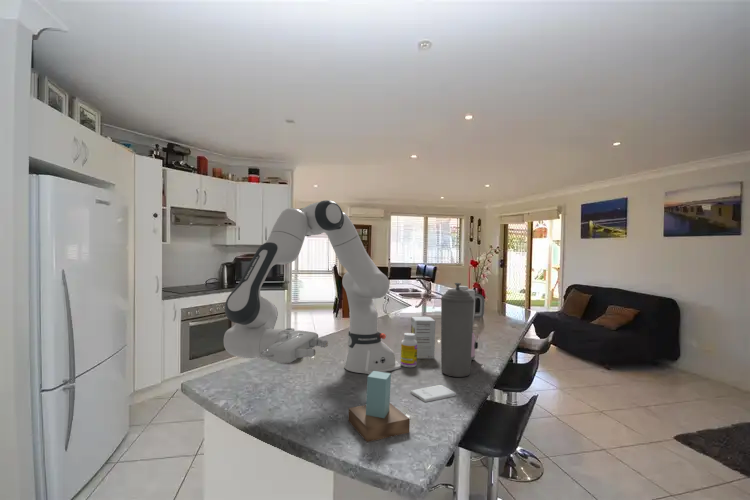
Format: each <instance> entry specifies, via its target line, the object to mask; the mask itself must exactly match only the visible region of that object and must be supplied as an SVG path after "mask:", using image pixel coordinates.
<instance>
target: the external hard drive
mask: <svg viewBox="0 0 750 500" xmlns="http://www.w3.org/2000/svg"><path fill="white" fill-rule="evenodd" d="M409 393H410V394H412V395H413V396H415V397H417V398H418V399H419V400H421V401H423V402H424V403H427V402H431V401H436V400H437V401H438V400H442V399H446V398H451V397H455V396H457V393H456V391H454V390H451V389H450V388H448V387H446V386H445V385H442V384H438V385H433V386H427V387H421V388H417V389H412V390H410V391H409Z"/></svg>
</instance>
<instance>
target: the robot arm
mask: <svg viewBox="0 0 750 500" xmlns="http://www.w3.org/2000/svg"><path fill="white" fill-rule="evenodd" d="M322 234H326V236H327V237H328V240H329V242H330V244H331V247H332V249H333V250H334V251H333V252H334V253H335V256H336V257H337V259H338V261H339V264H340V265H341V266H342V267H343V268H344V269H345V270H346V272H345V273H344V275H343V277H342V283H341V284H342V287H343V289H344V291H345V293H346V297H347V302H348V309H349V331H348V334H347V335H348V336H347V346H348V349H347V356H346V360H345V364H344V369H345V370H347V371H349V372H353V373H359V374H365V375H370V374H371V373H372V372H373V371H378V372H385V373H388V372H390V371H395V370H399V369H401V368H402V365H401V362H399V361H397V360H396V355H395V352H394V350H393V349H391V347H389V346H388V345H387V344H386V343H385V342H383V341H382V339H383V340H385V339H386V337H387V335H386V334H385V333H381V332H379V331H378V323H379V322H378V320H379V318H378V315H379V314H378V311H377V309H376V306H375V304H374V301H373V300H375V299H381V298H383V297H385V296H387V294H388V292H389V290H390V281H389V277H388V276H387V275H386V274H385V273H383V272H382V271H381V270H380V268H378V266H377V264H375V262H374V261H373V260H372V258H371V256H370V255H369V253H368V252H367V250H366V248H365V247H364V244H363V242H362V240H361V238H360V235H359V233H358V231H357V229H356V227H355V225H354V223H353V221H352V220H351V218H350V217H349V216H348V215H347V213H345V212H344V211H343V210H342V208H341V206H340V205H339V204H338V203H337V202H336V201H334V200H330V199H329V200H327V199H326V200H321V201H319V202H313V203H310V204H309V205H307V206H305V207H302V208H299V209H298V208H294V207H290V208H289V207H288V208H285V209H284V210H282V212H281V213H280V215H279V216H278V217H277V219H276V221H275V223H274V225H273V227H272V229H271V231H270V234H269V237H268V238H267V240H266V241H265V242H264V243H263V244H261V245H260V246H259V247H258V249H257V250H256V251H255V253H254V255H253V257H252V258H251V261H250V262H249V264H248V266H247V268H246V269H245V271H244V273H243V275H242V277H241V279H240V280H239V282H238V284H237V285H236V286H235V288H234V289H233V290H232V291H231V293H230V294H229V295H228V296H227V298H226V301H225V304H224V312H225V313H224V314H225V316H226V317H227V319H228V320H229V321H230V322H232V323H234V325H232V326H231V327H230V328H228V329H227V330H225V332H224V336H223V346H224V349H225V351H226V352H227V353H228V354H229V355H231V356H234V357H237V358H243V359H256V358H257V359H260V360H263V361H264V360H266V361H269V362H272V363H273V362H274V363H280V364H290V363H292V362H293V361H295V360H297V359H298V358H299V359H301V358H306V357H307V358H308V357H309V358H313V357H315V355H316V349H315V347H320V348H323V349H324V348H327V347H328V345H329V341H328V340H326V339H324V340H323V339H321V338H320V337H319V334H318V333H316V332H313V331H306V330H296V329H295V328H293V327H288V328H287V327H286V328H282V329H281V328H275V326H276V323H277V320H278V309H277V307H276V306H275V304H274V303H272V302H271V301H269V300H268V299H266V298H264V297H263V296H261V289H262V286H263V285H264V282H265V281H266V278H267V276H268V274H269V273H270V271H271V269H272V267H274V266H275V265H282V266H283V265H284V266H285V265H288V264H292V263H293V262H294V261H296V260H297V258H298V256H299V255H300V253H301V250H302V247H303V244H304V241H305V237H311V236H316V235H317V236H318V235H322Z"/></svg>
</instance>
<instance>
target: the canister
mask: <svg viewBox="0 0 750 500" xmlns="http://www.w3.org/2000/svg"><path fill="white" fill-rule="evenodd" d="M454 285H455V288H456V289H452V288H449V289H450V290H448V289H447V291H446V292H445V293H444V294H443V295H442V296H441V299H440V301H441V304H440V305H441V308H440V311H441V313H440V314H441V316H440V317H441V320H440V321H441V322H440V323H441V325H440V327H441V328H440V338H441V339H440V340H441V342H440V344H441V345H440V346H441V349H440V353H441V354H440V356H441V361H440V362H441V364H440V366H441V368H440V371H441V372H442V373H443V374H444V375H446V376H450V377H455V378H465V377H468V376H469V375H470V373H471V365H472V364H471V363H472V360H471V348H472V329H474V327H473V325H474V322H473V309H474V299H473V298H472V296H471V295H470V294H469V293H468V291H466V290H461V289H460V288H459V286H462V283H460V282H454Z"/></svg>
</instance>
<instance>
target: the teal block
mask: <svg viewBox="0 0 750 500" xmlns="http://www.w3.org/2000/svg"><path fill="white" fill-rule="evenodd" d="M366 380H367V381H366V382H367V383H366V400H365V401H366V402H365V405H366V415H368V416H374V417H379V418H385V416H386V415H387V413H388V412H389V405H390V403H391V401H390V400H391V384H392V383H391V381H392V373H390V372H378V371H373V372H372V373H371V374H368V375H367V379H366Z"/></svg>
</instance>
